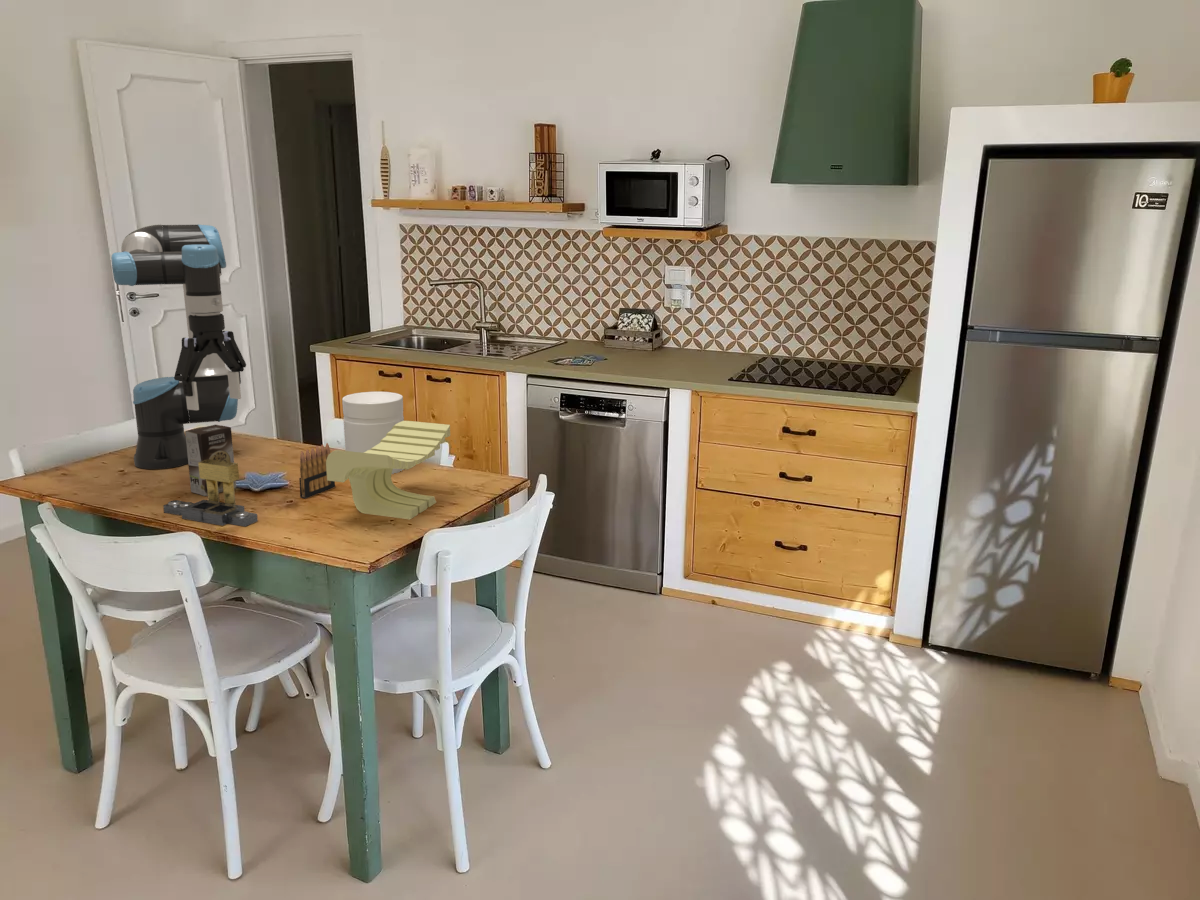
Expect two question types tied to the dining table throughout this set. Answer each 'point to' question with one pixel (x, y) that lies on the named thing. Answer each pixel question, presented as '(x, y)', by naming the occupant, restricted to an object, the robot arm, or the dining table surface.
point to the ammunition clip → (314, 472)
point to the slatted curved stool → (388, 469)
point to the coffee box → (207, 452)
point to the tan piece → (219, 478)
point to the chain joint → (211, 512)
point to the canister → (370, 419)
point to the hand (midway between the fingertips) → (215, 404)
